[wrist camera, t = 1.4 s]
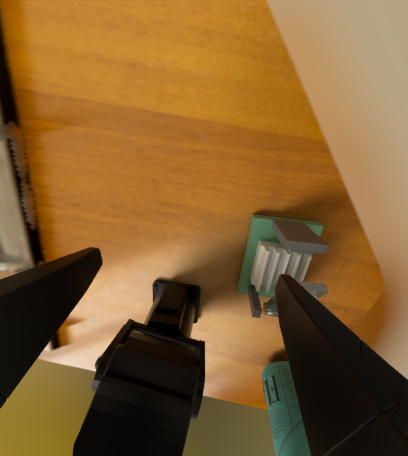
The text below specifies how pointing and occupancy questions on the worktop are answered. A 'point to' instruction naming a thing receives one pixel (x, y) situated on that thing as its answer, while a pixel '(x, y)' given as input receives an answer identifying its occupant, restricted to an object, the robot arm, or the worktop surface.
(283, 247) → the board
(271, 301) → the strap
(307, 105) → the worktop surface
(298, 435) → the beverage bottle
